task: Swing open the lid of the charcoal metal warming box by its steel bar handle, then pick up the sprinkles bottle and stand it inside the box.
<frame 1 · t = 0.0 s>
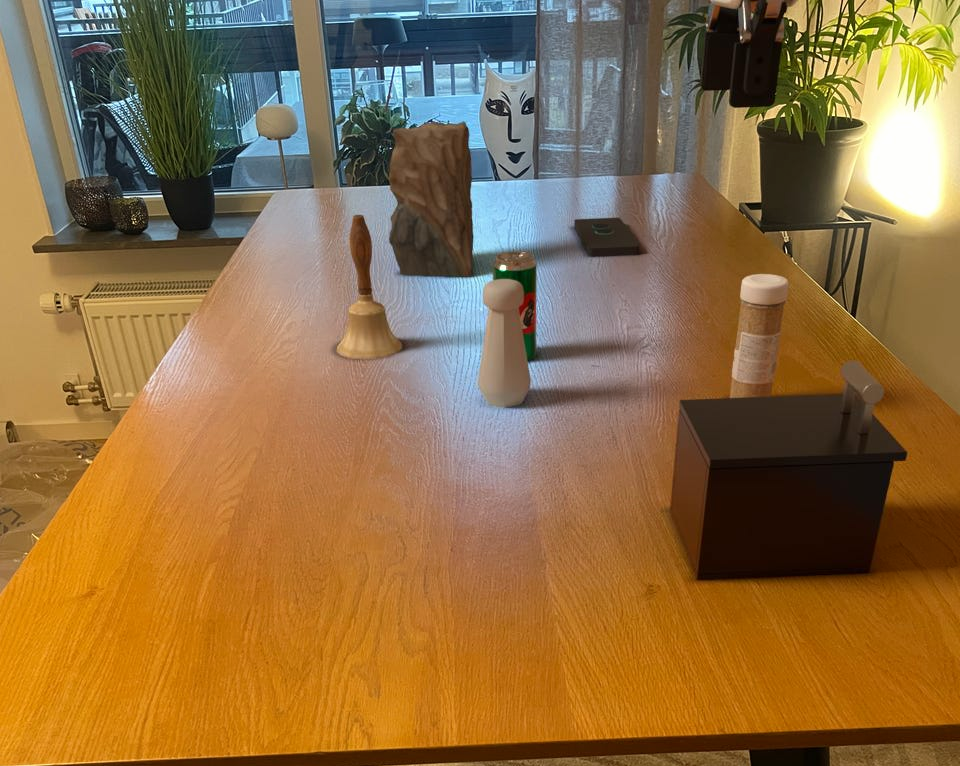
hand: (735, 97, 76), 32 cm above the table, tool pointing down, fingers open, 9 cm apart
salt shaker: (504, 404, 111), on the table
smart home device: (604, 243, 166), on the table
hand bell: (370, 351, 126), on the table
sprinkles bottle: (748, 409, 108), on the table
lid: (790, 404, 77), point 12 cm above the table, hinge at 0.0°
soda can: (515, 359, 122), on the table
owl: (442, 272, 155), on the table
warming box: (763, 543, 84), on the table
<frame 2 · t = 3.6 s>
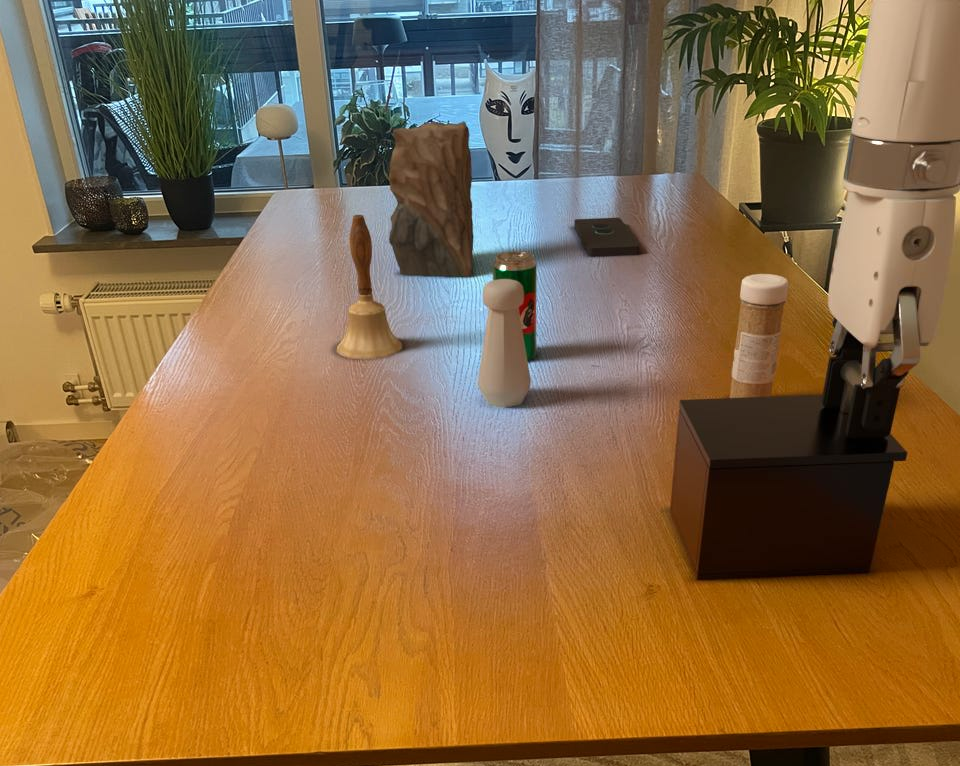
hand: (854, 418, 77), 11 cm above the table, tool pointing down, fingers closed on lid, 5 cm apart
lid: (790, 404, 77), point 12 cm above the table, hinge at 0.0°, touching gripper
everything else where it was.
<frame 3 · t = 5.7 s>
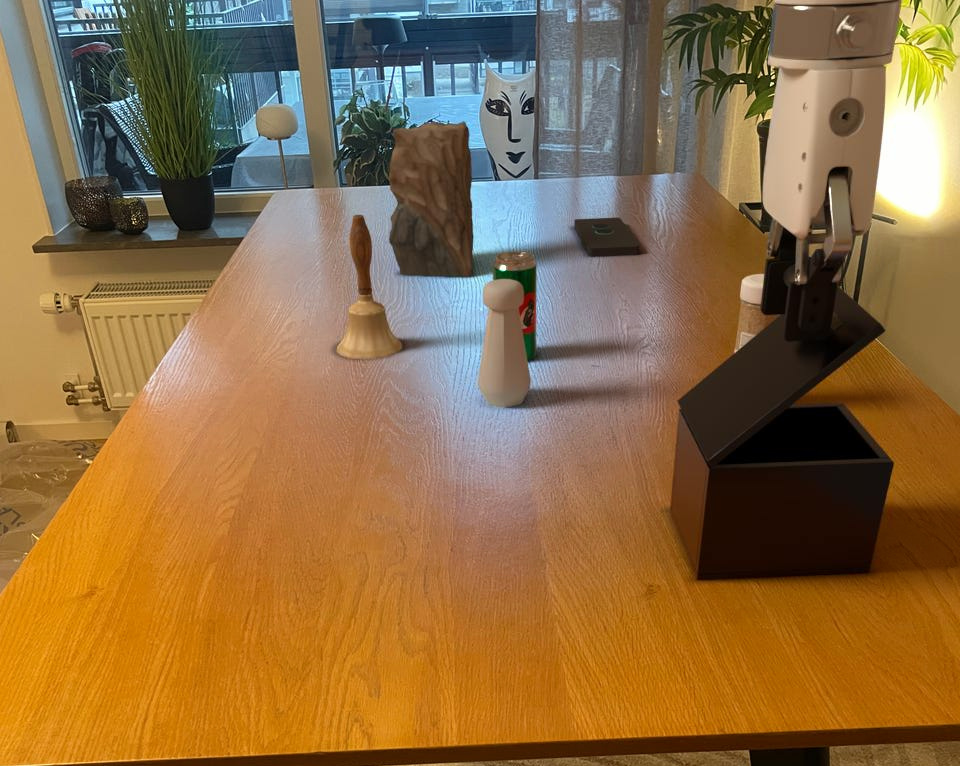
hand: (793, 323, 73), 18 cm above the table, tool pointing down, fingers closed on lid, 5 cm apart
lid: (756, 350, 74), point 16 cm above the table, hinge at 41.9°, touching gripper
everything else where it was.
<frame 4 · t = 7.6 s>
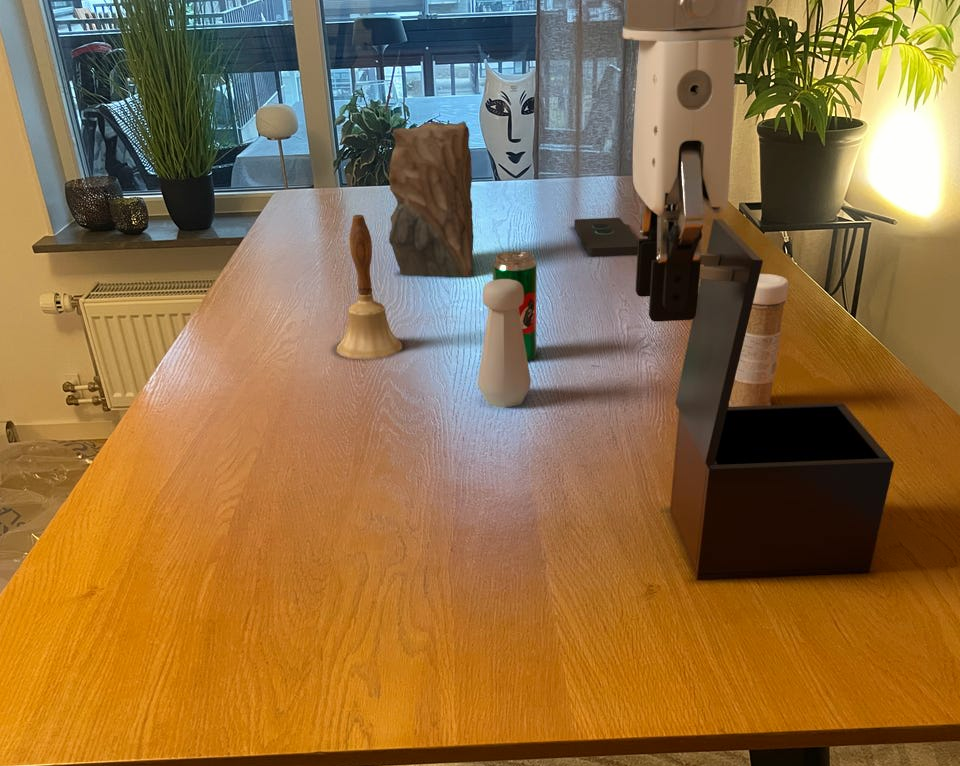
hand: (664, 304, 72), 20 cm above the table, tool pointing down, fingers closed on lid, 5 cm apart
lid: (687, 338, 73), point 18 cm above the table, hinge at 83.4°, touching gripper
everything else where it was.
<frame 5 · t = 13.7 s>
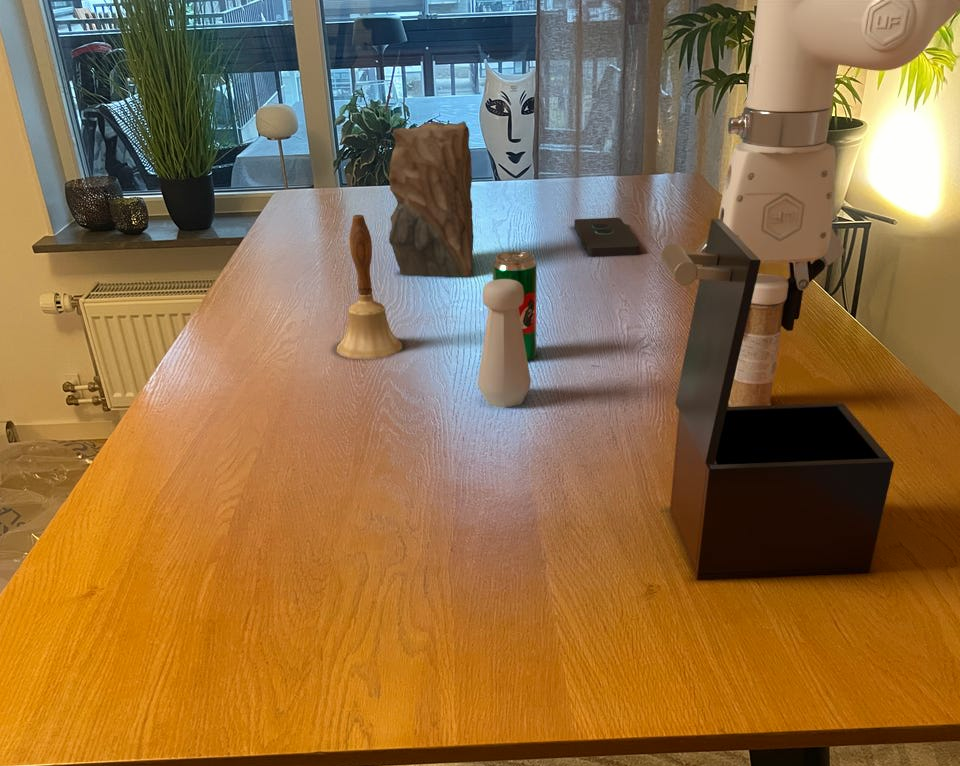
hand: (759, 325, 102), 9 cm above the table, tool pointing down, fingers closed on sprinkles bottle, 4 cm apart
sprinkles bottle: (748, 409, 107), on the table, touching gripper
lid: (686, 338, 73), point 18 cm above the table, hinge at 84.0°
everything else where it was.
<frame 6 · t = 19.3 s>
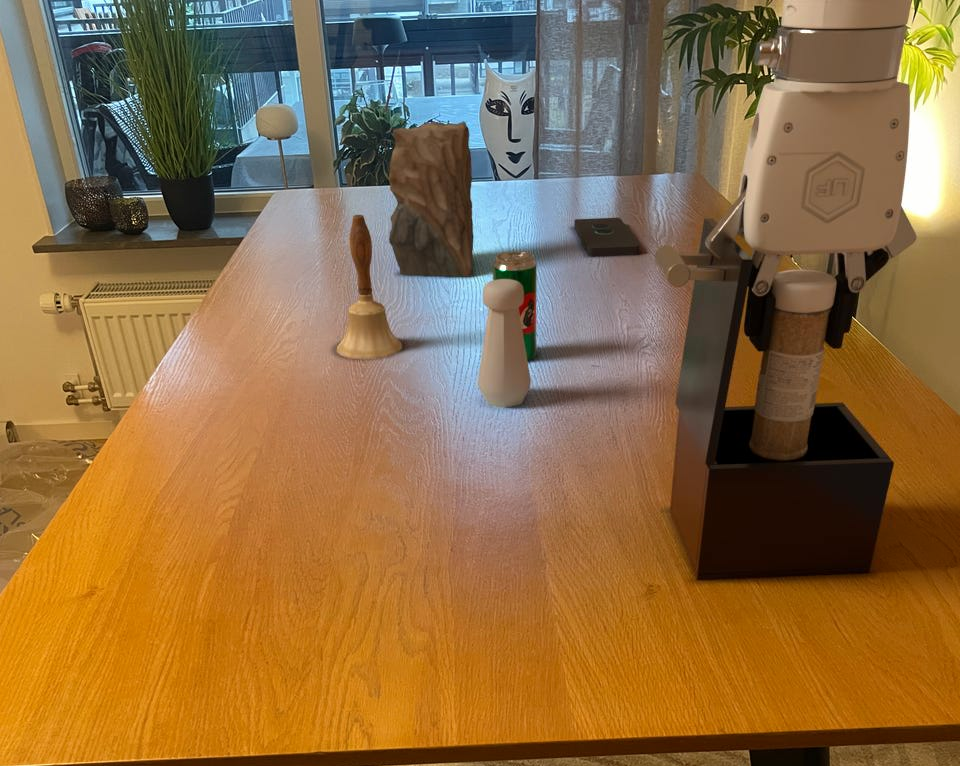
hand: (794, 341, 74), 17 cm above the table, tool pointing down, fingers closed on sprinkles bottle, 4 cm apart
sprinkles bottle: (777, 453, 79), point 8 cm above the table, touching gripper
lid: (682, 339, 73), point 18 cm above the table, hinge at 86.2°
everything else where it was.
when the fingers open (10 cm above the table, at t = 21.4 s): sprinkles bottle stays where it is, resting on warming box.
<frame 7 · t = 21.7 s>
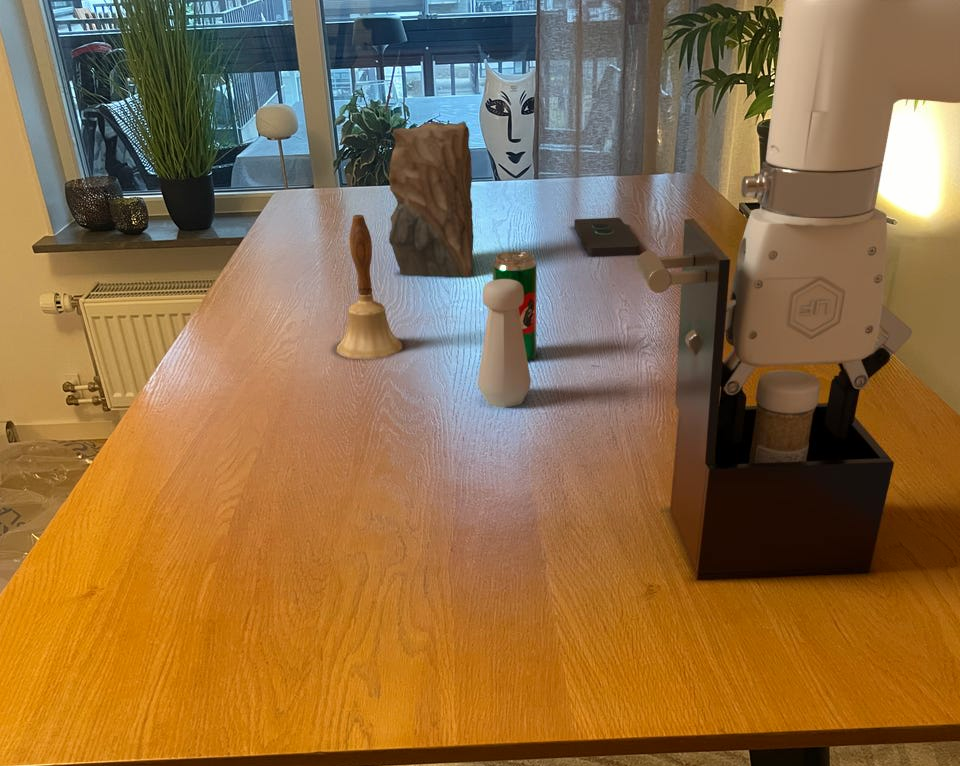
hand: (783, 433, 78), 10 cm above the table, tool pointing down, fingers open, 7 cm apart
sprinkles bottle: (765, 536, 83), point 1 cm above the table, touching warming box
lid: (672, 342, 74), point 17 cm above the table, hinge at 92.1°, touching gripper
everything else where it was.
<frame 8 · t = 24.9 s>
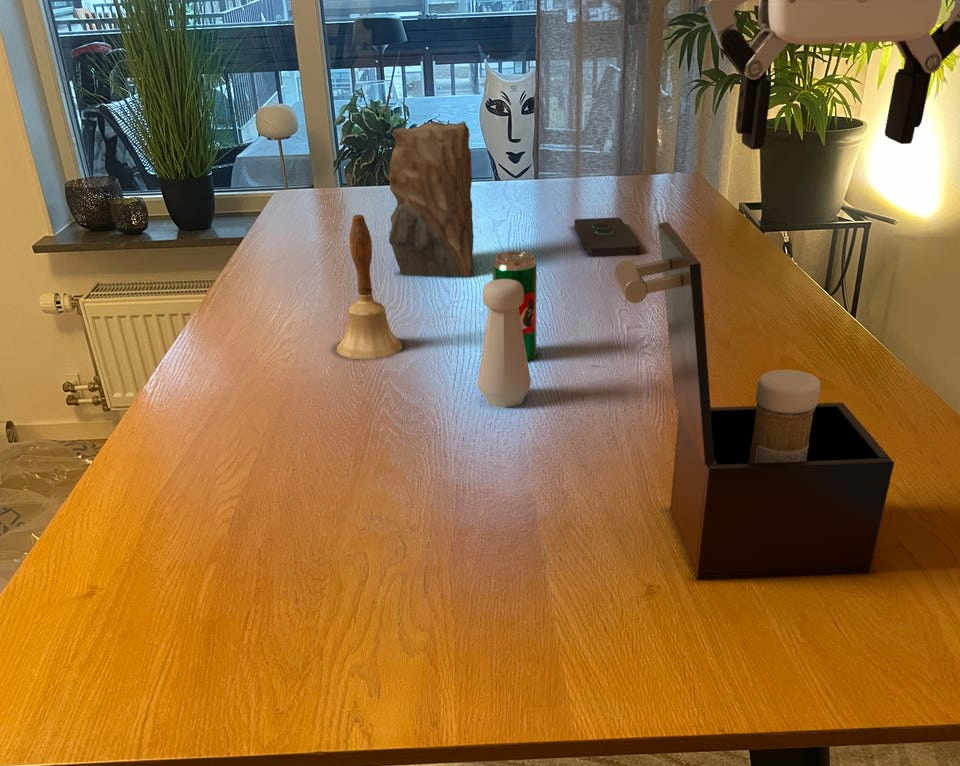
hand: (824, 143, 66), 30 cm above the table, tool pointing down, fingers open, 9 cm apart
lid: (659, 347, 74), point 17 cm above the table, hinge at 99.6°
everything else where it was.
at the end: lid at +100° (first picture: +0°); sprinkles bottle inside the target area in the warming box (0.1 cm from its centre), point 0.6 cm above the warming box's base; sprinkles bottle tilted 0° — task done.
